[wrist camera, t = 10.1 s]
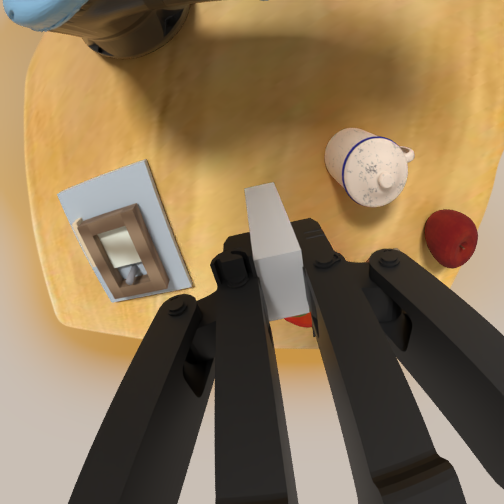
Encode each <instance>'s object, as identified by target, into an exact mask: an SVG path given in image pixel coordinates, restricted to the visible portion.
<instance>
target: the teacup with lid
mask: <svg viewBox="0 0 504 504" xmlns="http://www.w3.org/2000/svg"><path fill="white" fill-rule="evenodd" d="M413 159H414V151H413V150H412V149H411V148H408V147H404V146H398V145H397V144H396V143H395V142H393V141H392V140H390V139H388V138H385V137H379V136H376V135H374V134H372V133H369V132H367V131H364V130H362V129H359V128H346V129H343V130H341V131H339V132H337V133H336V134H335V135H334V136H333V137H332V138H331V139H330V141H329V142H328V144H327V147H326V150H325V164H326V167H327V170H328V171H329V173H330V174H331V176H332V177H333V178H334V179H335V180H336V181H337V182H338V183H339V184H340V185H341V186H342V187H343V188H344V189H345V190H346V192H347V194H348V195H349V197H350V198H351V199H352V200H353V201H355V202H356V203H358V204H360V205H363V206H366V207H380V206H384V205H386V204H388V203H390V202H392V201H393V200H394V199H395V198H396V197H397V196H398V195H399V194H400V193H401V191H402V190H403V188H404V186H405V183H406V180H407V176H408V165H407V163H408V162H410V161H412V160H413Z"/></svg>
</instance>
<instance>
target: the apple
mask: <svg viewBox="0 0 504 504" xmlns="http://www.w3.org/2000/svg"><path fill="white" fill-rule="evenodd" d="M425 238H426V242H427V246H428V248H429V250H430V252H431V254H432V255H433V257H434V258H435V259H436V260H437V261H438V262H439V263H440V264H441V265H443V266H444V267H447V268H457V267H459V266H461V265H463V264H464V263H466V262H467V261H468V260H469V259H470V257H471V256H472V255H473V253H474V251H475V248H476V245H477V240H478V233H477V229H476V226H475V224H474V223H473V221H472V220H471V219H470V218H469V217H467V216H466V215H464V214H463V213H460V212H457V211H454V210H447V209H445V210H439V211H436V212H434V213H433V214H432V215H431V216H430V217H429V218H428V220H427V222H426V225H425Z"/></svg>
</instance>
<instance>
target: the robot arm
mask: <svg viewBox="0 0 504 504" xmlns="http://www.w3.org/2000/svg"><path fill="white" fill-rule="evenodd" d="M210 1H220V0H3V6H4V9H5V12H6V14H7V15H8V17H9V18H10V19H11V20H12V21H13V22H15V23H16V24H18V25H21V26H24V27H28V28H31V29H32V30H34V31H40V32H43V31H45V32H46V31H50V32H56V33H62V34H68V35H73V36H78V37H82V39H83V40H84V42H85V43H86V44H87V46H88V47H90V48H91V49H92V50H93V51H95V52H97V53H98V54H101V55H103V56H107V57H112V58H118V59H130V58H136V57H140V56H143V55H146V54H149V53H151V52H153V51H155V50H157V49H158V48H160V47H162V46H163V45H164V44H166V43H167V42H168V41H169V40H170V39H172V38H173V37H174V36H175V34H176V33H177V32H178V31H179V30H180V28H181V27H182V25H183V23H184V22H185V20H186V17H187V15H188V12H189V7H190V4H193V3H201V2H210ZM262 1H267V0H262ZM245 197H246V205H247V213H248V221H249V229H250V232H247V233H243V234H238V235H234V236H229V237H228V238H227V240H226V241H225V243H224V249H223V251H224V252H222V253H220V254H218V255H217V256H216V257H215V258H214V259H213V260H212V261H211V264H210V266H211V269H212V272H213V274H214V277H215V280H216V283H217V290H216V291H215V292H214V293H212V294H211V295H209V296H207V297H205V298H202V299H200V300H198V301H196V299H195V297H193V296H191V295H188V294H181V295H176V296H174V297H172V298H169V299H168V300H167V301H165V302H164V303H163V304H162V306H161V307H160V308H159V310H158V312H157V314H156V316H155V318H154V319H153V321H152V323H151V325H150V327H149V329H148V331H147V333H146V335H145V337H144V338H143V340H142V342H141V344H140V346H139V348H138V350H137V352H136V354H135V356H134V358H133V360H132V362H131V364H130V366H129V368H128V370H127V372H126V374H125V376H124V378H123V380H122V382H121V384H120V386H119V388H118V390H117V392H116V394H115V397H114V398H113V401H112V403H111V405H110V407H109V409H108V411H107V413H106V416H105V418H104V420H103V422H102V424H101V427H100V429H99V431H98V433H97V435H96V437H95V440H94V442H93V445H92V446H91V449H90V451H89V453H88V456H87V458H86V460H85V463H84V465H83V468H82V470H81V472H80V475H79V477H78V480H77V482H76V484H75V487H74V489H73V492H72V495H71V497H70V500H69V502H68V504H177V503H178V499H179V496H180V493H181V490H182V486H183V483H184V480H185V476H186V473H187V469H188V466H189V463H190V459H191V456H192V453H193V449H194V446H195V442H196V439H197V436H198V432H199V429H200V426H201V422H202V419H203V416H204V412H205V409H206V405H207V402H208V399H209V395H210V392H211V389H212V385H213V381H214V379H215V491H216V502H215V503H216V504H298V498H297V491H296V485H295V478H294V471H293V464H292V458H291V451H290V445H289V438H288V432H287V426H286V419H285V413H284V406H283V400H282V393H281V387H280V381H279V374H278V368H277V362H276V355H275V349H274V343H273V337H272V331H271V327H270V323H269V321H273V320H278V319H283V318H287V317H292V316H296V315H301V314H305V313H310V312H311V319H312V328H313V337H315V336H316V338H317V342H318V345H319V349H320V352H321V356H322V359H323V363H324V366H325V370H326V374H327V377H328V381H329V384H330V388H331V392H332V395H333V399H334V403H335V407H336V410H337V414H338V418H339V422H340V426H341V430H342V434H343V437H344V442H345V446H346V450H347V454H348V458H349V462H350V466H351V470H352V475H353V479H354V483H355V487H356V492H357V497H358V504H466V501H465V497H464V495H463V491H462V488H461V485H460V482H459V479H458V476H457V474H456V472H455V470H454V468H453V466H452V465H451V464H450V463H449V461H448V460H446V459H444V458H442V457H440V456H439V455H438V454H437V452H436V450H435V448H434V446H433V443H432V440H431V437H430V435H429V432H428V430H427V427H426V425H425V422H424V420H423V417H422V415H421V412H420V410H419V408H418V406H417V403H416V401H415V398H414V396H413V394H412V391H411V389H410V387H409V385H408V382H407V380H406V378H405V376H404V373H403V371H402V369H401V367H400V365H399V363H398V361H397V358H398V360H399V361H400V362H401V363H402V364H403V366H404V367H405V368H406V369H407V370H408V372H409V373H410V374H411V375H412V376H413V378H414V379H415V380H416V381H417V382H418V384H419V385H420V386H421V387H422V388H423V390H424V391H425V392H426V393H427V394H428V396H429V397H430V398H431V400H432V401H433V402H434V403H435V405H436V406H437V407H438V408H439V410H440V411H441V412H442V413H443V415H444V416H445V417H446V418H447V420H448V421H449V422H450V423H451V425H452V426H453V427H454V428H455V430H456V431H457V432H458V433H459V435H460V436H461V438H462V439H463V440H464V441H465V443H466V444H467V445H468V447H469V448H470V449H471V451H472V452H473V453H474V455H475V456H476V457H477V458H478V460H479V461H480V463H481V464H482V465H483V467H484V468H485V469H486V471H487V472H488V473H489V474H490V476H491V477H492V478H493V479H494V480H495V482H496V483H497V484H498V485H500V486H501V487H502V488H503V489H504V336H503V335H502V334H501V333H500V332H499V331H498V330H497V329H496V328H495V327H494V326H493V325H491V324H490V323H489V322H488V321H487V320H486V319H485V318H484V317H482V316H481V315H480V314H479V313H478V312H477V311H476V310H474V309H473V308H472V307H471V306H470V305H469V304H467V303H466V302H465V301H464V300H463V299H461V298H460V297H459V296H458V295H457V294H456V293H454V292H453V291H452V290H451V289H449V288H448V287H447V286H446V285H444V284H443V283H442V282H441V281H439V280H438V279H437V278H436V277H434V276H433V275H432V274H431V273H429V272H428V271H427V270H425V269H424V268H423V267H422V266H420V265H419V264H418V263H416V262H415V261H414V260H412V259H411V258H410V257H408V256H407V255H406V254H404V253H403V252H401V251H399V250H395V249H381V250H378V251H376V252H374V253H373V254H372V255H371V256H370V258H369V262H365V263H355V262H348V261H346V260H345V258H344V257H343V256H342V255H341V254H340V253H337V252H335V251H334V250H333V248H332V247H331V245H330V243H329V241H328V239H327V238H326V236H325V235H324V232H323V231H322V229H321V227H320V225H319V224H318V222H316V221H315V220H313V219H311V218H308V219H303V220H298V221H294V222H290V221H289V218H288V216H287V213H286V211H285V208H284V206H283V204H282V201H281V199H280V196H279V194H278V191H277V189H276V187H275V184H274V182H272V183H267V184H263V185H258V186H253V187H249V188H245ZM309 308H310V312H309ZM396 357H397V358H396Z"/></svg>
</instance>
